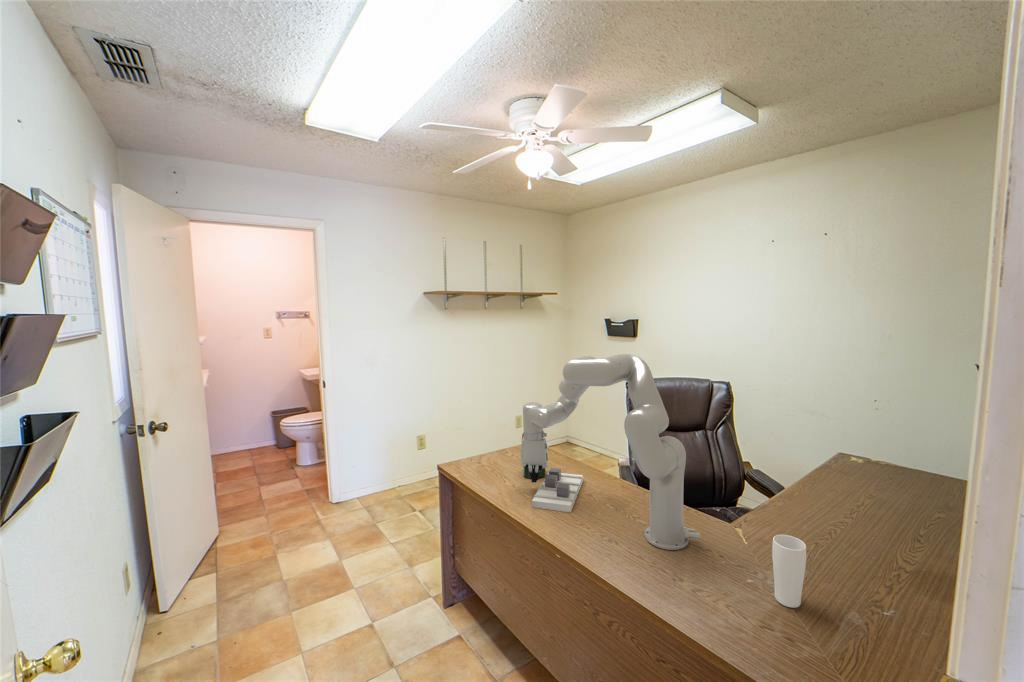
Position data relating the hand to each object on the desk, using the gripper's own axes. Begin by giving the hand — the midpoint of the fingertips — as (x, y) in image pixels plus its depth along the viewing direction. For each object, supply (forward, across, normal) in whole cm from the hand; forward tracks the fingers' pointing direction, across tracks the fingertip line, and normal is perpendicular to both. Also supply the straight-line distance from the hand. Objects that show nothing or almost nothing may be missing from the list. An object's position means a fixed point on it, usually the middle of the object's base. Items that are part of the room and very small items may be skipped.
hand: (534, 481), depth 164 cm
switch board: (+4, -10, 0) cm, 10 cm away
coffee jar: (+4, +4, -14) cm, 15 cm away
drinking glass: (+4, -74, +41) cm, 85 cm away
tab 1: (+1, -7, -7) cm, 9 cm away
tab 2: (+1, -6, 0) cm, 7 cm away
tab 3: (+1, -13, +6) cm, 14 cm away
